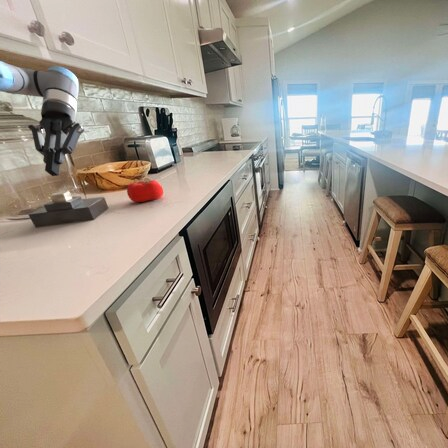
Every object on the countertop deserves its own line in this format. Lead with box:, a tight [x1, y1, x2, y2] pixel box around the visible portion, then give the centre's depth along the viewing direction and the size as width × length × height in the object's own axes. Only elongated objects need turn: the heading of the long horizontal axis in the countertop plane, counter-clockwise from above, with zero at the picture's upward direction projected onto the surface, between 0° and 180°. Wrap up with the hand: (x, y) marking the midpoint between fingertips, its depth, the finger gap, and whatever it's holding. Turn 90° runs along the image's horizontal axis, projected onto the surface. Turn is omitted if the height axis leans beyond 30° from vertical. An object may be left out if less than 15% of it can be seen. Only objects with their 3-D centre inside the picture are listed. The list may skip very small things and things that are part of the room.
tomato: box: [126, 179, 164, 203], centre depth 86 cm, size 10×11×6 cm
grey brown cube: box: [49, 191, 73, 203], centre depth 69 cm, size 3×3×3 cm
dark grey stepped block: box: [28, 195, 109, 229], centre depth 72 cm, size 14×11×6 cm
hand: (51, 173), depth 67 cm, fingers closed
